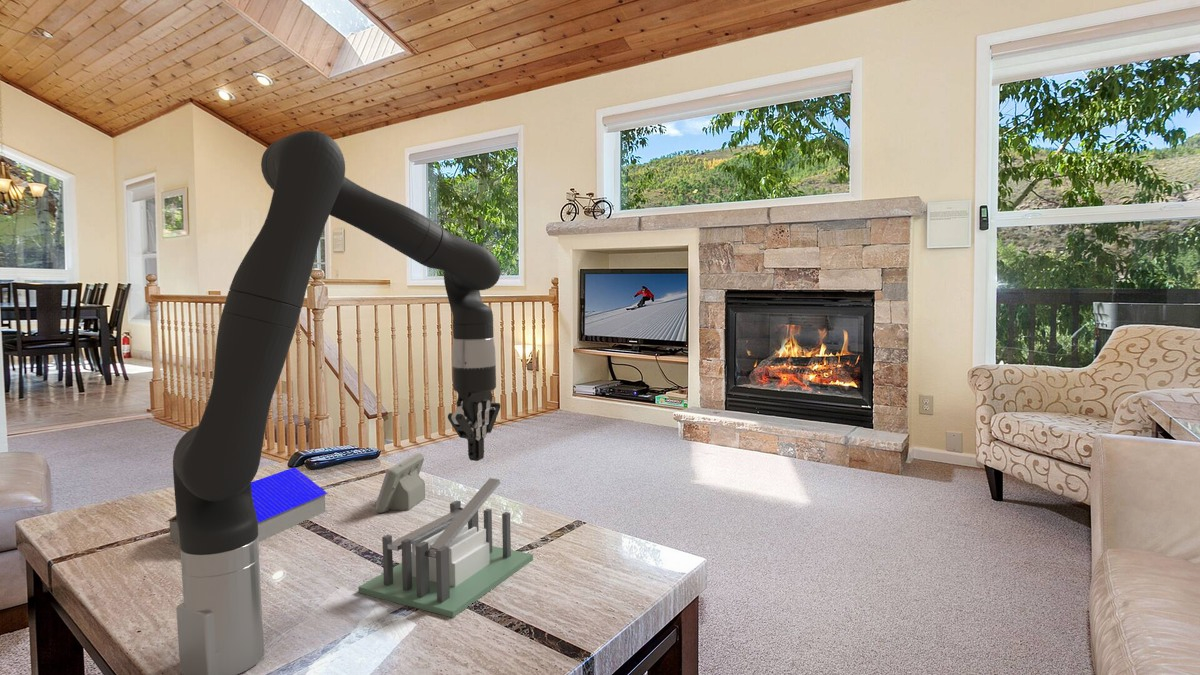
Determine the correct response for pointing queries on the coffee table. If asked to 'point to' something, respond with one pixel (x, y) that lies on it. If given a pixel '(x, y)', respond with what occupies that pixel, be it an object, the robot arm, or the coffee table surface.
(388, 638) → the coffee table surface
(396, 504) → the digital clock
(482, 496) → the strap
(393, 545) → the strap
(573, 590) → the coffee table surface
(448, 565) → the heatsink board
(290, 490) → the blue ribbed slab
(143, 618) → the coffee table surface
